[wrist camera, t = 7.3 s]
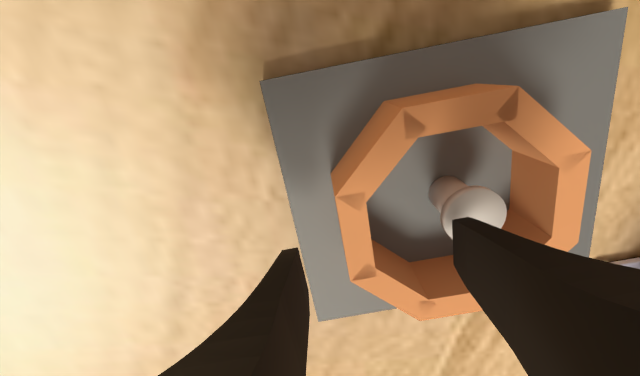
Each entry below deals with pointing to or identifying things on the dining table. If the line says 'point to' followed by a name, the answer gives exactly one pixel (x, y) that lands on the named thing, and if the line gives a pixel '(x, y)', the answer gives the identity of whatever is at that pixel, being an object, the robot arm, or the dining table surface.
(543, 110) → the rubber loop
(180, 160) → the dining table surface
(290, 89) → the hook board
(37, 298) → the dining table surface
